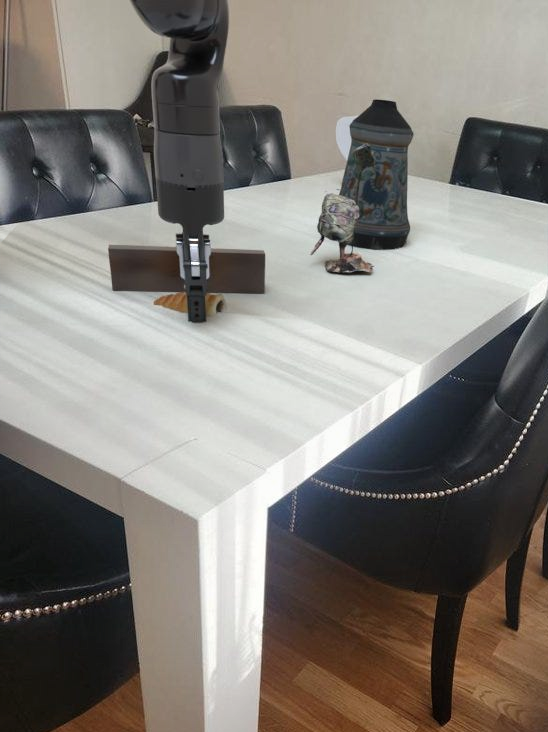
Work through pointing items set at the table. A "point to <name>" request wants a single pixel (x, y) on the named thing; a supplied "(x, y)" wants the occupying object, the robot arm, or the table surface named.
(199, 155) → the robot arm
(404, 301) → the table surface
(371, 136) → the beer stein
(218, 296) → the pastry
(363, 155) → the bird figurine
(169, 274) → the backstop
